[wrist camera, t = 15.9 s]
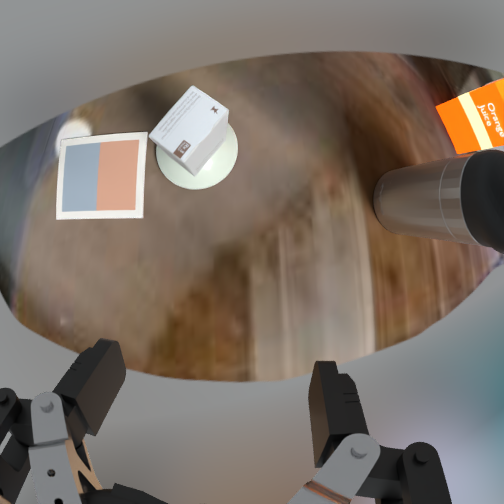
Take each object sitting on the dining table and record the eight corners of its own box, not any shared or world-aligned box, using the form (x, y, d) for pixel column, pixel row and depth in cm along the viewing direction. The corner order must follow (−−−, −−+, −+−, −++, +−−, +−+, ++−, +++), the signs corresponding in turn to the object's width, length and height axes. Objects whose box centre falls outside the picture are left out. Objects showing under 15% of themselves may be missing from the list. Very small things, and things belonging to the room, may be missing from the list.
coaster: (238, 113, 35) (239, 111, 34) (236, 190, 36) (236, 189, 35) (160, 113, 34) (159, 111, 33) (155, 189, 35) (153, 189, 34)
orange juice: (458, 96, 38) (537, 65, 18) (478, 141, 39) (562, 124, 19) (434, 106, 38) (522, 70, 18) (457, 155, 39) (550, 138, 19)
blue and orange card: (147, 132, 34) (147, 131, 34) (143, 217, 35) (142, 218, 35) (62, 140, 33) (61, 140, 33) (56, 219, 34) (56, 219, 34)
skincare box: (200, 120, 34) (191, 79, 22) (228, 141, 35) (232, 107, 23) (167, 159, 34) (143, 133, 22) (196, 180, 35) (183, 163, 23)
